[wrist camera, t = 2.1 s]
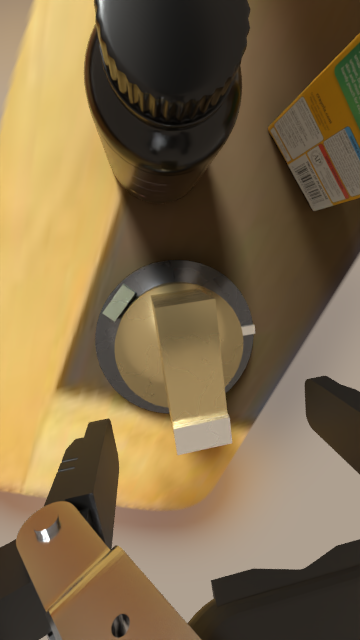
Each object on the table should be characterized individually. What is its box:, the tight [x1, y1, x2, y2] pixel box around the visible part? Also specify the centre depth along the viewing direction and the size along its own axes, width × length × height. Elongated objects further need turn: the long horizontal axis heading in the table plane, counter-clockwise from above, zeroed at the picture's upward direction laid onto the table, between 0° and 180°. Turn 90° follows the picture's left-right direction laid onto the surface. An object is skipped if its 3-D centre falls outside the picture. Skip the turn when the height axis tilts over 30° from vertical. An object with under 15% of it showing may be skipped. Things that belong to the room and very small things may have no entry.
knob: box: [115, 282, 243, 455], centre depth 17 cm, size 9×9×7 cm
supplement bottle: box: [84, 0, 250, 204], centre depth 14 cm, size 7×7×12 cm
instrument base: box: [96, 260, 255, 414], centre depth 21 cm, size 12×12×3 cm
